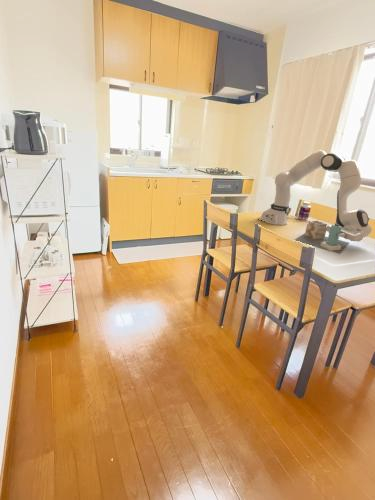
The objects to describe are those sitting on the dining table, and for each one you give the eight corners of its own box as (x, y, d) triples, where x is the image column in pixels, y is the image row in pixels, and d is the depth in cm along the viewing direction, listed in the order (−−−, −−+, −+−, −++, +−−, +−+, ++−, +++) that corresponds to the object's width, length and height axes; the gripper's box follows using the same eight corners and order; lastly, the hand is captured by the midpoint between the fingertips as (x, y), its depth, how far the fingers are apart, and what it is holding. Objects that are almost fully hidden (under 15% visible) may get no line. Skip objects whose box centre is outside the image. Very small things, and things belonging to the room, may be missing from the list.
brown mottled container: (304, 234, 190) (307, 220, 187) (314, 233, 194) (317, 220, 190) (314, 238, 183) (318, 224, 179) (324, 238, 186) (328, 224, 182)
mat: (292, 241, 177) (293, 240, 177) (306, 232, 197) (306, 231, 197) (339, 254, 161) (339, 253, 161) (349, 243, 181) (349, 242, 181)
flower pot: (280, 213, 244) (281, 205, 241) (291, 216, 238) (293, 208, 235) (275, 215, 236) (277, 207, 234) (287, 218, 231) (288, 210, 228)
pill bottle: (302, 220, 227) (306, 203, 222) (295, 217, 234) (299, 201, 229) (309, 220, 230) (314, 203, 225) (302, 217, 237) (306, 201, 232)
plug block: (326, 243, 170) (332, 223, 165) (331, 243, 171) (336, 223, 166) (331, 245, 166) (337, 225, 161) (336, 245, 168) (342, 225, 163)
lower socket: (320, 245, 171) (321, 242, 170) (329, 244, 174) (330, 241, 173) (330, 250, 165) (331, 246, 164) (340, 249, 168) (341, 245, 167)
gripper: (336, 222, 178) (321, 223, 173) (366, 232, 161) (349, 234, 156) (334, 231, 181) (318, 232, 175) (362, 242, 163) (346, 244, 158)
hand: (333, 233), depth 165 cm, fingers closed on plug block, 4 cm apart
